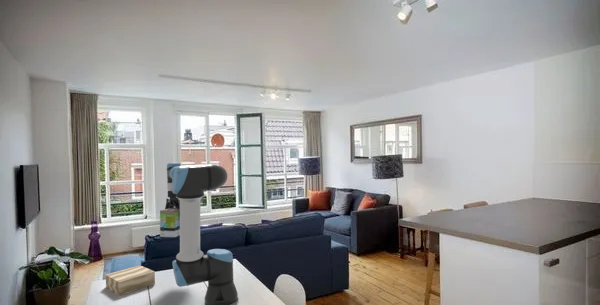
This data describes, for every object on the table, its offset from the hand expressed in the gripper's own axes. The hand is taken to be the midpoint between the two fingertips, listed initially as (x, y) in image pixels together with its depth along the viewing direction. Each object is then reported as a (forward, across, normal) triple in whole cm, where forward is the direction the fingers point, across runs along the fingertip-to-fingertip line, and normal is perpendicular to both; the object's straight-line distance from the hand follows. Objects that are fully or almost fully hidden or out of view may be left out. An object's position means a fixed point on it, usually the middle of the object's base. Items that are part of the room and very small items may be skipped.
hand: (175, 227), depth 181 cm
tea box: (+4, 0, 0) cm, 4 cm away
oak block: (+29, +13, +20) cm, 37 cm away
